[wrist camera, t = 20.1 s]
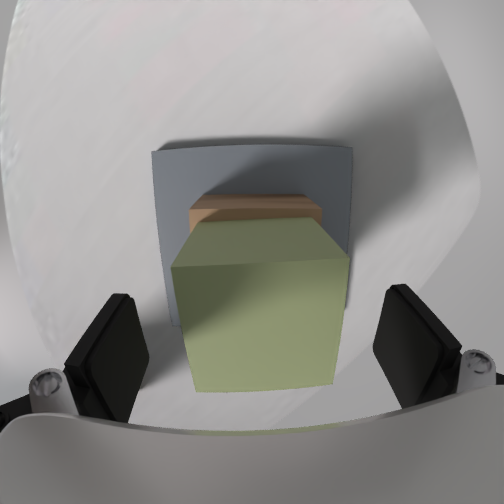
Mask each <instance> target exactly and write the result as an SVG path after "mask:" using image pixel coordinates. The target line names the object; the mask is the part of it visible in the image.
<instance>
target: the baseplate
mask: <svg viewBox="0 0 504 504" xmlns="http://www.w3.org/2000/svg"><path fill="white" fill-rule="evenodd" d="M152 169H153V184H154V196H155V207H156V218H157V227H158V236H159V244H160V252H161V259H162V266H163V273H164V280H165V286H166V292H167V298H168V304H169V310H170V315H171V321H172V326H181V324H180V319H179V314H178V309H177V303H176V298H175V292H174V286H173V281H172V275H171V268H170V267H171V265H172V263H173V262H174V260H175V258H176V257H177V255H178V253H179V252H180V250H181V248H182V247H183V245H184V243H185V242H186V240H187V239H188V237H189V235H190V224H189V209H190V208H191V206H192V205H193V204H194V203H195V202H196V201H197V200H198V199H199V198H200V197H201V196H202V195H216V194H304V195H305V196H307V197H308V198H309V199H311V200H312V201H313V202H314V203H316V204H317V205H318V206H319V207H321V208H322V222H321V227H322V228H323V229H324V230H325V232H326V233H327V234H328V235H329V236H330V237H331V238H332V239H333V240H334V241H335V242H336V243H337V245H338V246H339V247H340V248H341V249H342V250H343V251H344V252H345V253H346V254H347V248H348V237H349V224H350V208H351V188H352V147H338V146H319V145H280V144H265V145H226V146H207V147H192V148H180V149H169V150H160V151H152Z"/></svg>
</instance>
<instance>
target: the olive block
mask: <svg viewBox="0 0 504 504" xmlns="http://www.w3.org/2000/svg"><path fill="white" fill-rule="evenodd" d="M349 261H350V258H349V257H348V256H347V254H346V253H345V252H344V251H343V250H342V249H341V248H340V247H339V246H338V245H337V243H336V242H335V241H334V240H333V239H332V238H331V237H330V236H329V235H328V234H327V233H326V232H325V230H324V229H323V228H322V227H321V226H320V225H319V224H318V223H317V222H316V221H315V220H314V219H313V218H312V217H294V218H269V219H247V220H228V221H210V222H198V223H197V224H196V226H195V227H194V229H193V231H192V232H191V234H190V235H189V237H188V239H187V240H186V242H185V243H184V245H183V247H182V248H181V250H180V252H179V253H178V255H177V257H176V258H175V260H174V262H173V263H172V265H171V267H170V268H171V275H172V281H173V286H174V292H175V298H176V303H177V309H178V314H179V319H180V324H181V329H182V334H183V338H184V343H185V348H186V352H187V357H188V361H189V365H190V369H191V374H192V378H193V382H194V386H195V390H196V392H253V391H271V390H284V389H296V388H305V387H314V386H322V385H330V384H333V379H334V373H335V368H336V362H337V356H338V350H339V344H340V338H341V331H342V324H343V316H344V309H345V300H346V292H347V282H348V272H349Z"/></svg>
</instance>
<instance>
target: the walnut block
mask: <svg viewBox="0 0 504 504" xmlns="http://www.w3.org/2000/svg"><path fill="white" fill-rule="evenodd" d="M294 217H312V218H313V219H314V220H315V221H316V222H317V223H318V224H319V225H320V226H321V222H322V208H321V207H319V206H318V205H317V204H316V203H314V202H313V201H312V200H311V199H309V198H308V197H307V196H305V195H304V194H216V195H202V196H201V197H200V198H199V199H198V200H197V201H196V202H195V203H194V204H193V205H192V206H191V208H190V209H189V224H190V234H191V232H192V231H193V229H194V227H195V226H196V224H197V223H198V222H210V221H228V220H247V219H269V218H294Z"/></svg>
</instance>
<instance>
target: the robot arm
mask: <svg viewBox="0 0 504 504" xmlns="http://www.w3.org/2000/svg"><path fill="white" fill-rule="evenodd" d="M461 348H462V345H461V344H460V343H459V341H458V340H457V339H456V338H455V337H454V336H453V335H452V333H451V332H450V331H449V330H448V329H447V328H446V327H445V325H444V324H443V323H442V322H441V321H440V320H439V319H438V318H437V316H436V315H435V314H434V313H433V312H432V311H431V310H430V309H429V308H428V307H427V305H426V304H425V303H424V302H423V301H422V300H421V299H420V298H419V297H418V296H417V295H416V294H415V293H414V292H413V291H412V290H411V289H410V288H409V287H408V286H407V285H406V284H397V285H392V286H391V287H390V289H387V291H386V293H385V298H384V303H383V307H382V311H381V316H380V320H379V324H378V328H377V332H376V335H375V339H374V343H373V352H374V355H375V356H376V358H377V360H378V362H379V364H380V366H381V368H382V370H383V372H384V374H385V376H386V377H387V379H388V381H389V383H390V385H391V387H392V389H393V391H394V393H395V395H396V397H397V399H398V401H399V403H400V405H401V407H402V409H400V410H396V411H393V412H388V413H384V414H380V415H375V416H371V417H366V418H361V419H355V420H350V421H344V422H338V423H331V424H324V425H317V426H309V427H301V428H300V427H299V428H288V429H276V430H255V431H206V430H186V429H172V428H162V427H153V426H144V425H136V424H129V423H128V420H129V417H130V414H131V411H132V408H133V405H134V402H135V399H136V396H137V394H138V391H139V388H140V385H141V382H142V379H143V376H144V374H145V371H146V368H147V365H148V362H149V353H148V350H147V346H146V343H145V339H144V336H143V332H142V328H141V325H140V321H139V317H138V313H137V309H136V305H135V301H134V299H133V298H130V296H129V295H128V294H117V293H114V294H112V295H111V297H110V298H109V299H108V301H107V302H106V304H105V305H104V306H103V308H102V309H101V310H100V312H99V313H98V315H97V316H96V317H95V319H94V320H93V322H92V323H91V324H90V326H89V327H88V329H87V330H86V332H85V333H84V334H83V336H82V337H81V339H80V340H79V342H78V343H77V345H76V346H75V348H74V349H73V351H72V352H71V354H70V355H69V357H68V358H67V360H66V362H65V363H64V365H65V368H64V370H63V372H62V371H61V370H58V369H53V368H51V369H45V370H43V371H41V372H39V373H38V374H36V375H35V376H34V377H33V378H32V380H31V381H30V384H29V394H28V395H25V396H23V397H21V398H18V399H16V400H13V401H11V402H8V403H6V404H3V405H1V406H0V504H504V375H502V374H499V373H496V366H495V363H494V361H493V359H492V358H491V357H490V356H489V355H488V354H486V353H485V352H483V351H480V350H475V349H473V350H468V351H465V352H464V354H463V355H462V354H461V353H460V350H461Z"/></svg>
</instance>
